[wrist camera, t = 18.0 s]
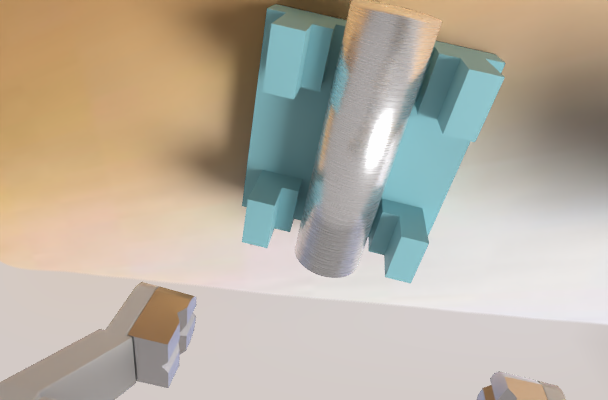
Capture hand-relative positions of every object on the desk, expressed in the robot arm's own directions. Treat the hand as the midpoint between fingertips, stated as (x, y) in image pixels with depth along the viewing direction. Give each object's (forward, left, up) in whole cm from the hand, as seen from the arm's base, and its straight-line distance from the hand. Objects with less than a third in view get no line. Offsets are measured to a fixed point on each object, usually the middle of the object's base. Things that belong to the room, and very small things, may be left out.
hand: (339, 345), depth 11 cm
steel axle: (0, 0, -12) cm, 12 cm away
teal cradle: (0, 0, -16) cm, 16 cm away
